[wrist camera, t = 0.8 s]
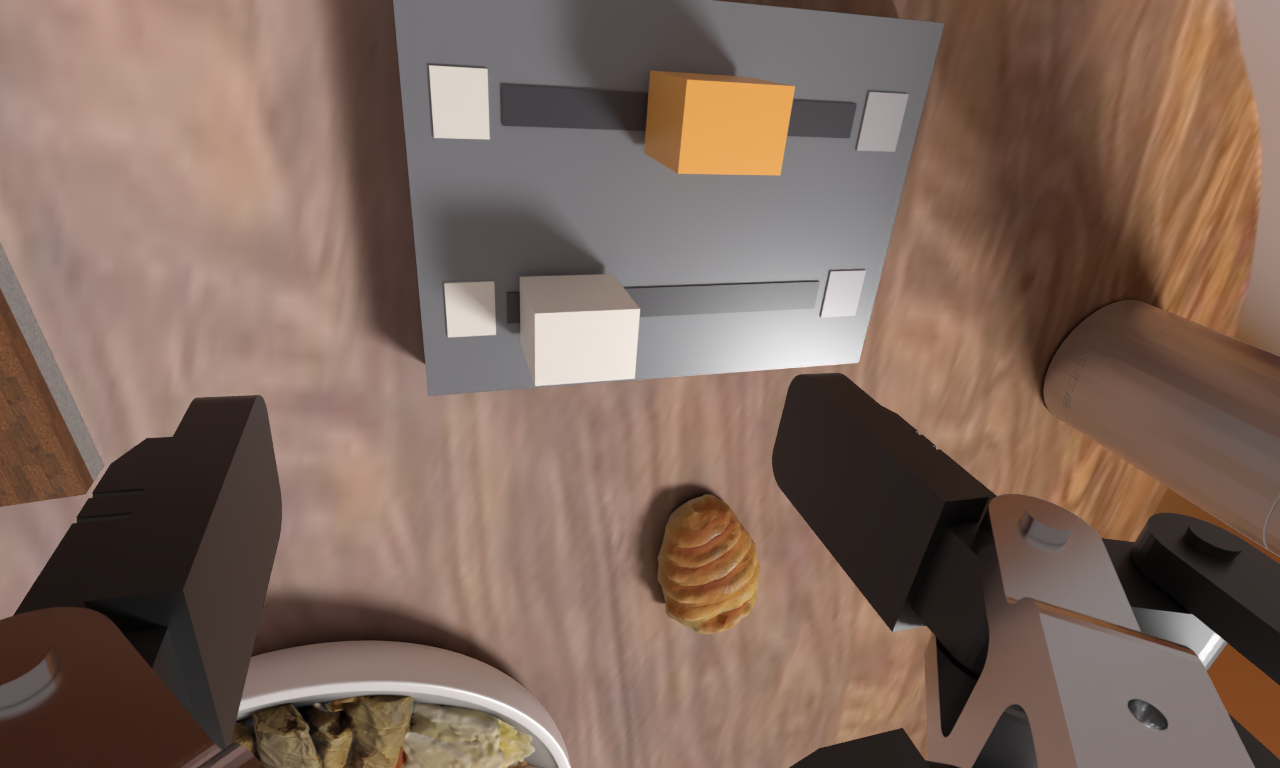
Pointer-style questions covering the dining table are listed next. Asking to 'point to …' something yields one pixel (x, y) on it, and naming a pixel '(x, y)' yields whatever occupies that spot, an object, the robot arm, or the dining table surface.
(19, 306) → the white upright stand
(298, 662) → the bowl
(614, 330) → the on slider
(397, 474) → the dining table surface
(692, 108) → the slider
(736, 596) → the pastry
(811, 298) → the switch panel
